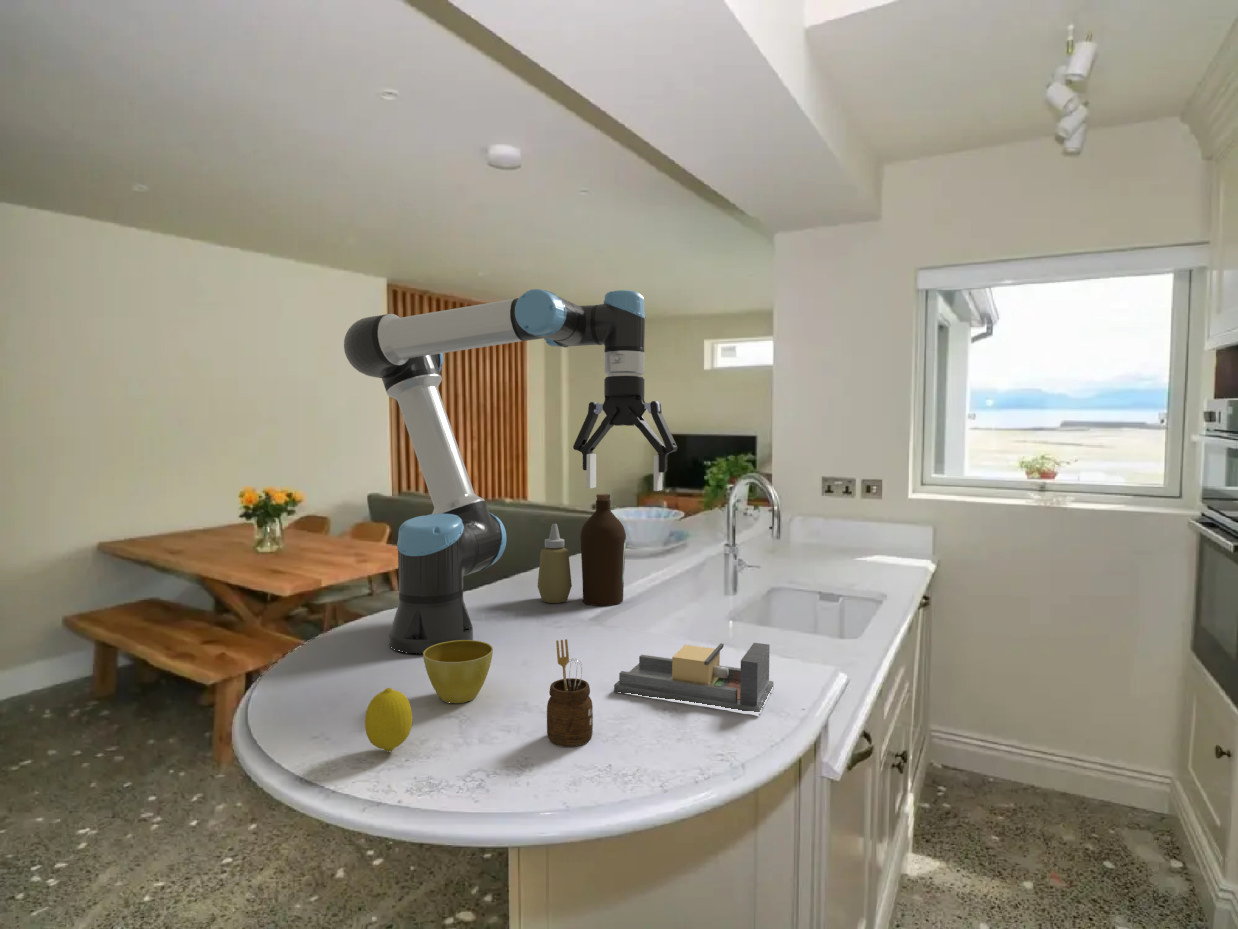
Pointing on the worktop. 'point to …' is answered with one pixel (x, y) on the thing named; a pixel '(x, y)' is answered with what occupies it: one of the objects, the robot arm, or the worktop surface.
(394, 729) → the lemon
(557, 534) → the squeeze bottle
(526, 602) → the worktop surface
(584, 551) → the olive oil
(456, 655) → the yellow bowl
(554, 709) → the utensil holder
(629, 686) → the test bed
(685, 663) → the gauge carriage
